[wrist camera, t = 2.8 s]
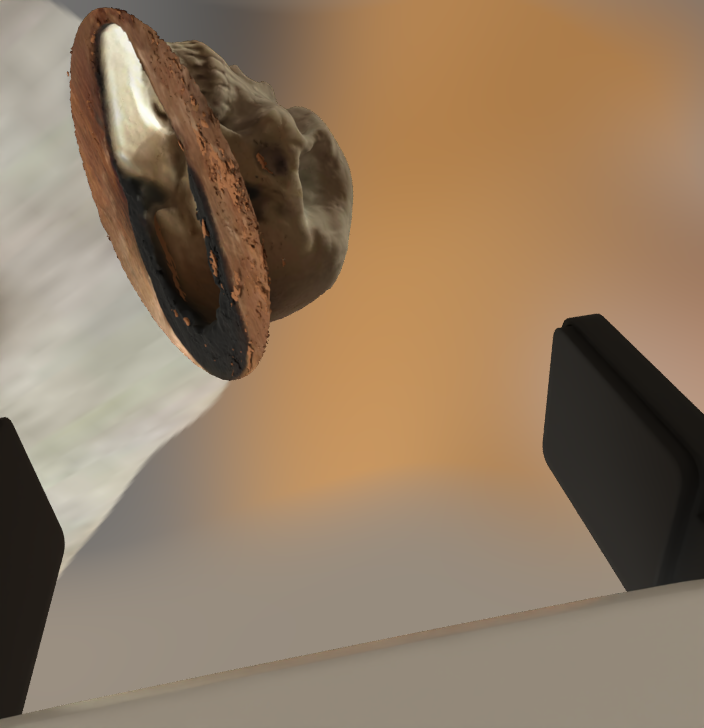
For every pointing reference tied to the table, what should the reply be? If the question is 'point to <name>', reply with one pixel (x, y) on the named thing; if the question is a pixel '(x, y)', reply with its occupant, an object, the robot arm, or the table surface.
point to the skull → (206, 188)
